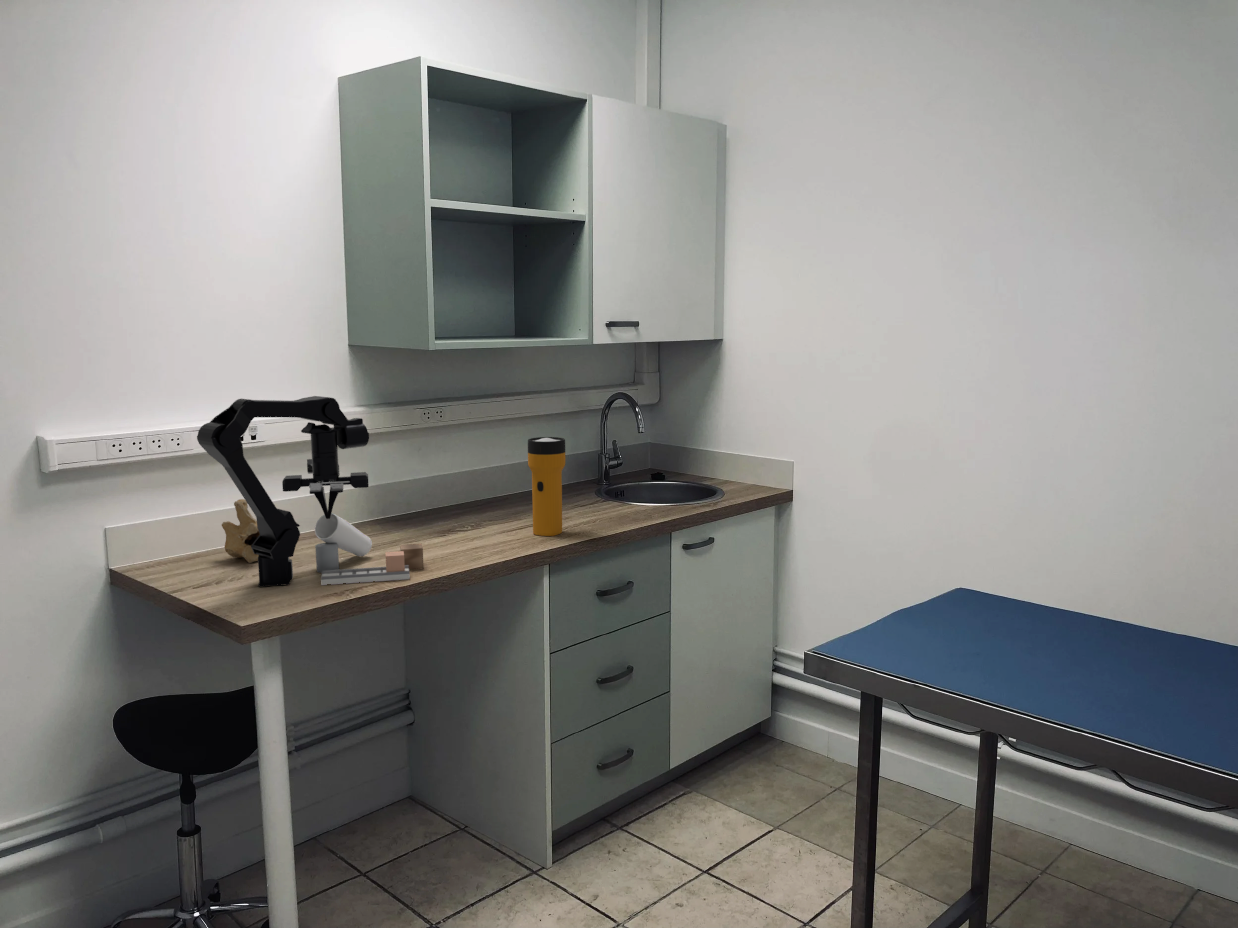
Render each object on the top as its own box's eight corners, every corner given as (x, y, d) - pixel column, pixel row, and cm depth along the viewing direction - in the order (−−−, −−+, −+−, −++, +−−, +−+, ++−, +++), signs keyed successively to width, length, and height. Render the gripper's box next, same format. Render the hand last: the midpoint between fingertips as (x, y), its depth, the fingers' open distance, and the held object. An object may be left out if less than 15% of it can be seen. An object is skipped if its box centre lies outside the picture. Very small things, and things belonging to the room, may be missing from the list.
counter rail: (321, 585, 213) (320, 577, 213) (322, 578, 219) (322, 570, 218) (409, 578, 218) (409, 571, 218) (408, 572, 223) (408, 564, 223)
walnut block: (401, 570, 225) (400, 549, 225) (400, 565, 230) (400, 544, 229) (423, 569, 227) (422, 548, 226) (422, 563, 231) (421, 543, 231)
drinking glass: (376, 554, 236) (339, 534, 223) (352, 563, 238) (314, 543, 225) (374, 530, 239) (337, 508, 226) (351, 538, 241) (313, 517, 228)
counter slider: (386, 573, 217) (385, 556, 217) (386, 569, 221) (385, 552, 220) (404, 572, 218) (404, 555, 218) (404, 568, 222) (403, 551, 221)
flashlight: (571, 436, 261) (553, 441, 252) (573, 531, 265) (555, 538, 256) (539, 434, 265) (520, 439, 256) (541, 527, 269) (522, 535, 260)
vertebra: (252, 551, 243) (248, 492, 241) (280, 561, 234) (276, 500, 232) (218, 558, 237) (213, 497, 235) (245, 568, 228) (241, 505, 225)
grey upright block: (316, 573, 223) (314, 548, 222) (317, 568, 227) (316, 543, 227) (338, 572, 224) (337, 546, 223) (339, 566, 229) (338, 541, 228)
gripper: (366, 445, 232) (369, 509, 234) (284, 448, 227) (288, 513, 229) (366, 451, 221) (370, 518, 223) (280, 455, 216) (284, 523, 219)
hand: (328, 518), depth 224 cm, fingers closed
